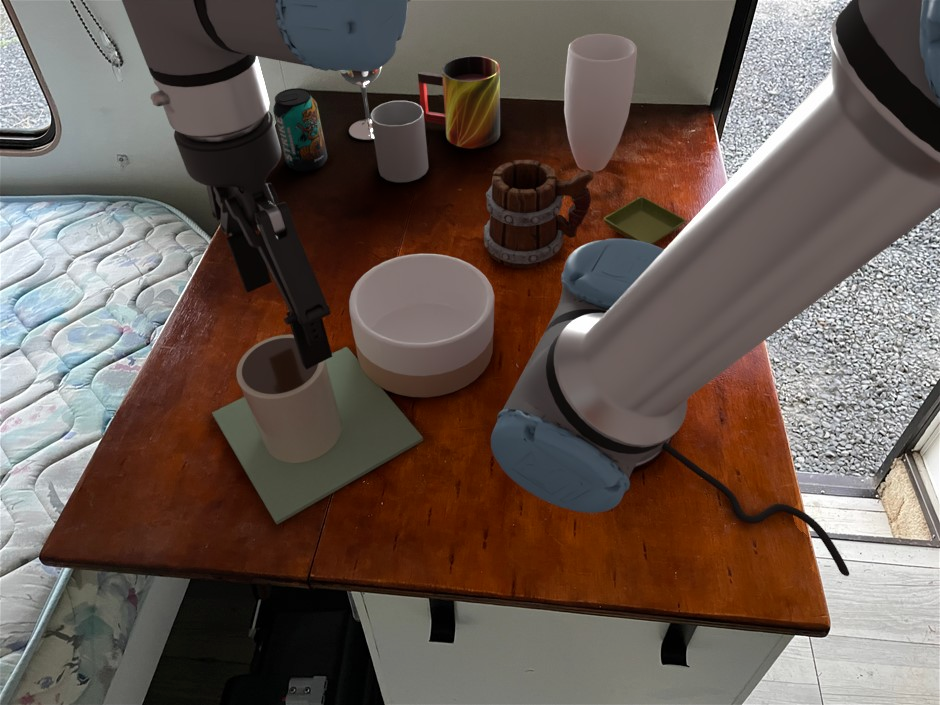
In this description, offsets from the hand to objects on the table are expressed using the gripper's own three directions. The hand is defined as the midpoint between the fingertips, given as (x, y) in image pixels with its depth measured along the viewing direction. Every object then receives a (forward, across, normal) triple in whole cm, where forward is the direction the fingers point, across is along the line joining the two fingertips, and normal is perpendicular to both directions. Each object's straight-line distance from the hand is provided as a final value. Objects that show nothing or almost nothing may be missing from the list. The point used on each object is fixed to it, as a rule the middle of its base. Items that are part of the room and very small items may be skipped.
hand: (286, 321), depth 69 cm
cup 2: (+17, -19, +59) cm, 64 cm away
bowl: (+17, -3, +16) cm, 24 cm away
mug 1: (+17, -44, +51) cm, 69 cm away
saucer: (+17, -4, +56) cm, 58 cm away
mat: (+17, 0, 0) cm, 17 cm away
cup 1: (+17, -41, +37) cm, 58 cm away
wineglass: (+17, -56, +39) cm, 70 cm away
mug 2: (+17, -11, +41) cm, 45 cm away
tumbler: (+11, 0, -6) cm, 12 cm away
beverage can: (+17, -53, +25) cm, 61 cm away
